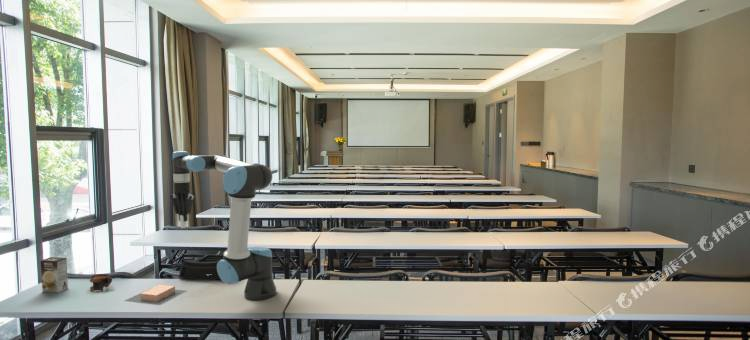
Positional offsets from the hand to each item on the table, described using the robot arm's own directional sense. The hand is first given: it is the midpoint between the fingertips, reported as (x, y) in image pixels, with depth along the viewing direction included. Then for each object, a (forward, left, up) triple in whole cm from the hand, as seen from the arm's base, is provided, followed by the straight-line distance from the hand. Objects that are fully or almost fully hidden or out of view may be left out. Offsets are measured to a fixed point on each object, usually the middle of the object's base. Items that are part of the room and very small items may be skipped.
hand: (183, 227), depth 215 cm
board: (+6, +17, -28) cm, 34 cm away
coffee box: (+59, +22, -31) cm, 70 cm away
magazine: (-5, -12, -31) cm, 33 cm away
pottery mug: (+39, +14, -31) cm, 52 cm away
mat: (+3, +17, -30) cm, 35 cm away
